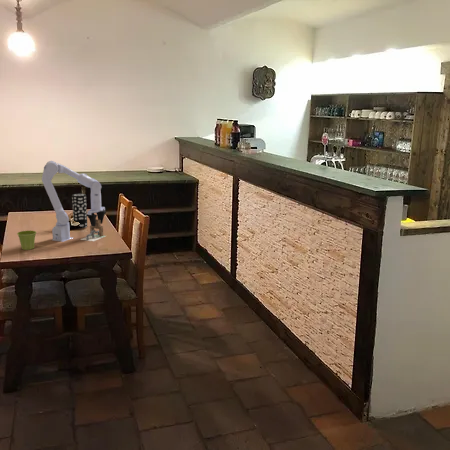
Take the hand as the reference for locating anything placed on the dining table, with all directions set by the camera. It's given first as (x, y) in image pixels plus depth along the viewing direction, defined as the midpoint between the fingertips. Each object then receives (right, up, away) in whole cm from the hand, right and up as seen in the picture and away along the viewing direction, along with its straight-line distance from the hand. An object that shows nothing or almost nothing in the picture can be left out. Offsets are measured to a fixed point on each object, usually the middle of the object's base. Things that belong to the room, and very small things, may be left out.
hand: (96, 224), depth 296 cm
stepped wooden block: (0, -6, +2) cm, 6 cm away
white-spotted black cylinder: (-17, -1, +26) cm, 31 cm away
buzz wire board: (-2, -8, -2) cm, 8 cm away
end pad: (0, -7, +2) cm, 7 cm away
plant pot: (-30, -13, -24) cm, 41 cm away
